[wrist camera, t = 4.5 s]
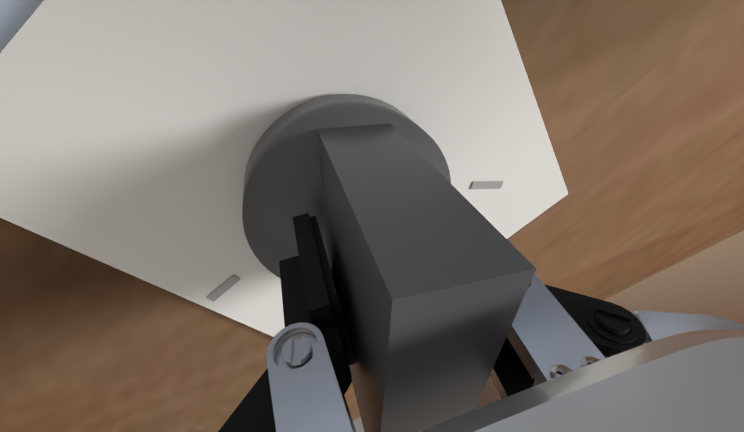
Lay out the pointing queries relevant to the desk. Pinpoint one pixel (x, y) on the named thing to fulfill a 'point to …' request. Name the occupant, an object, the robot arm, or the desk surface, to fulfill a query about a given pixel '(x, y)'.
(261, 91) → the dial plate
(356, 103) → the dial knob
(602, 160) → the desk surface
